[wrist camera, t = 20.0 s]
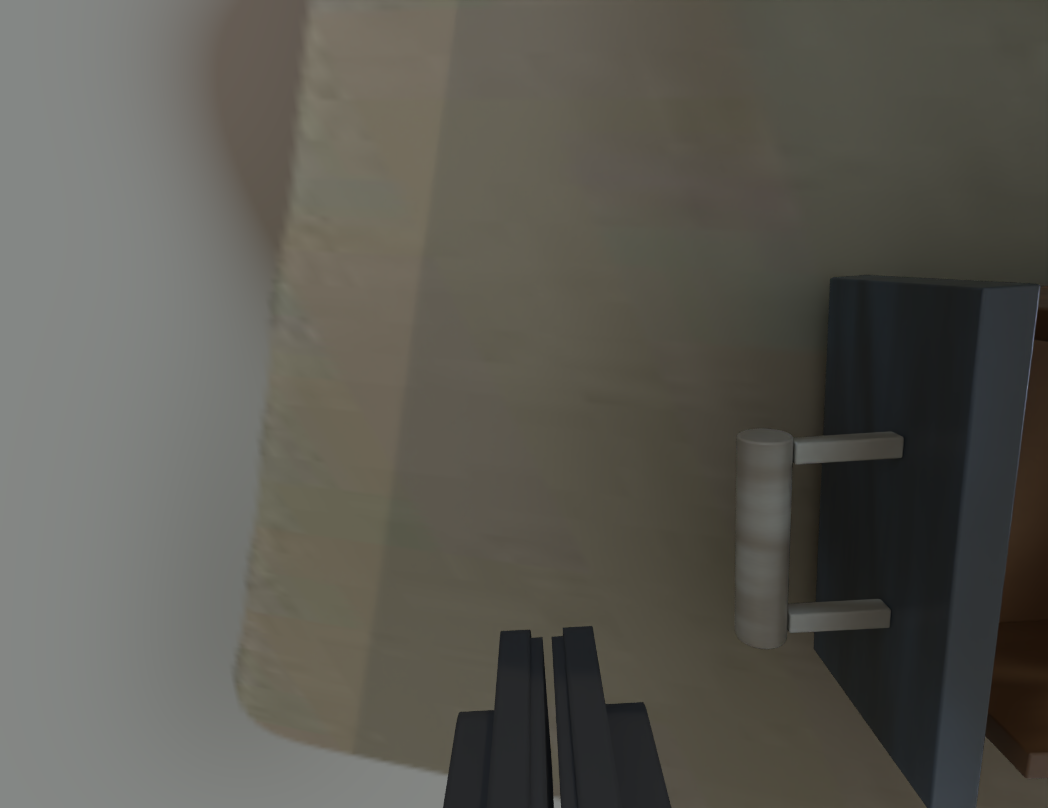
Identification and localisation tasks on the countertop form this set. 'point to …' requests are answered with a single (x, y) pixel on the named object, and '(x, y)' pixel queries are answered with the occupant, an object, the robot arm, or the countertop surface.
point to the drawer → (919, 524)
